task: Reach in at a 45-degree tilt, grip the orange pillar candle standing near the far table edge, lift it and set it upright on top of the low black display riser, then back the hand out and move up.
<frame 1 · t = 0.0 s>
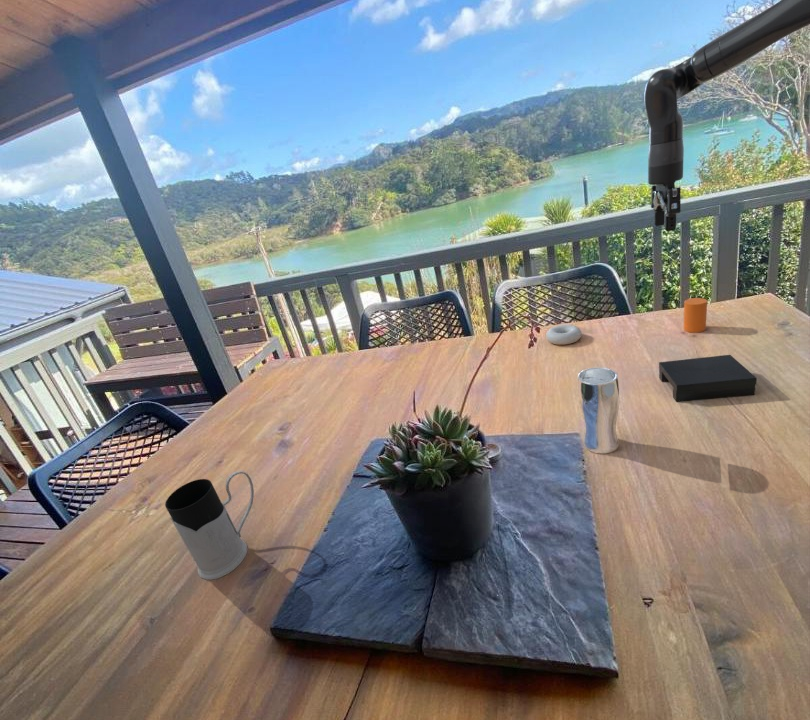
hand: (664, 227, 114), 27 cm above the table, tool pointing down, fingers open, 8 cm apart
donut: (564, 340, 130), on the table
black display riser: (703, 386, 93), on the table
silver metal tumbler: (601, 445, 84), on the table
candle: (694, 329, 117), on the table
glass holder: (237, 549, 80), on the table
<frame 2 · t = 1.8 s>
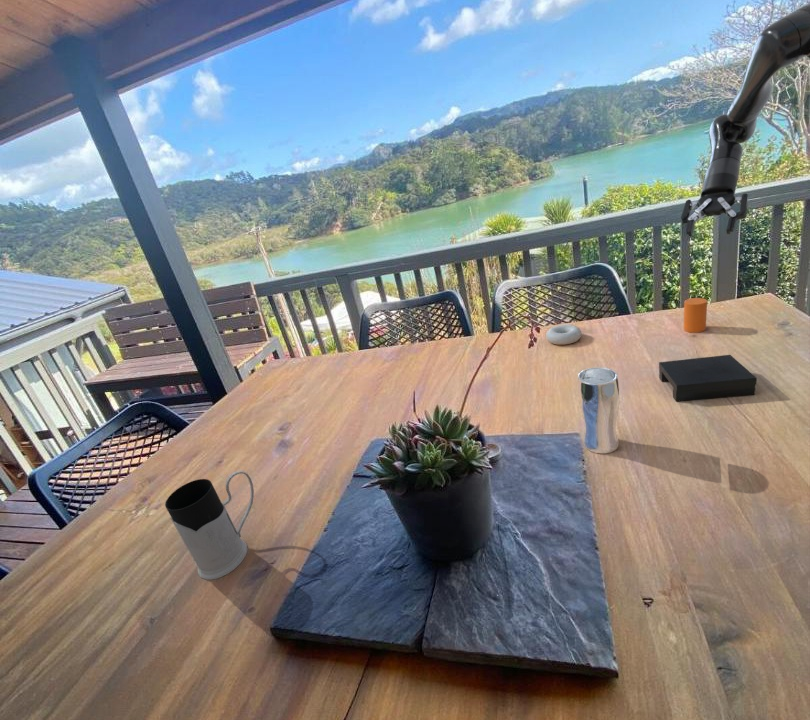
hand: (708, 233, 115), 23 cm above the table, tool tilted 45°, fingers open, 8 cm apart
nothing on the table moved.
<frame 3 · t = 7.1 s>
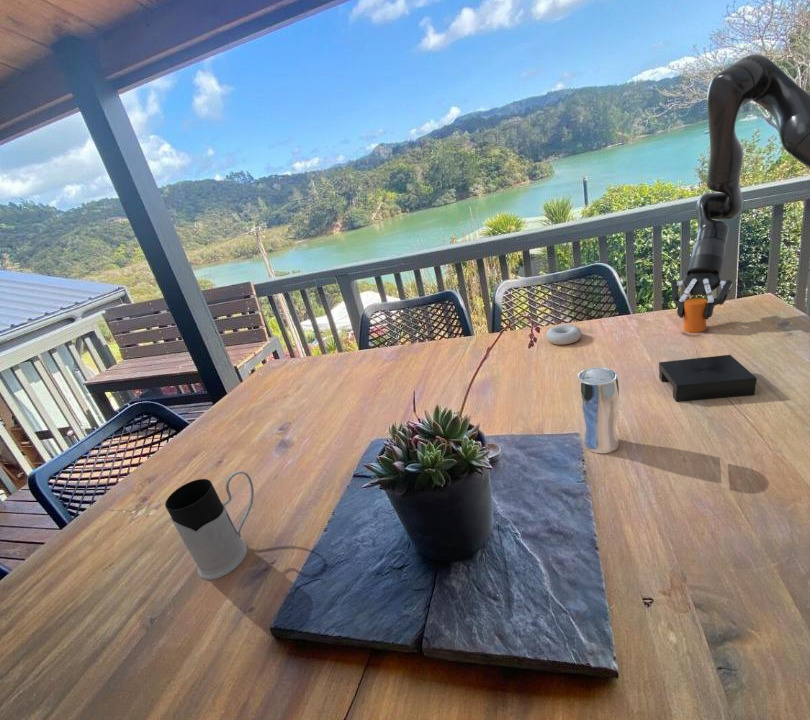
hand: (693, 317, 115), 4 cm above the table, tool tilted 45°, fingers closed on candle, 5 cm apart
candle: (694, 329, 117), on the table, touching gripper
everything else where it was.
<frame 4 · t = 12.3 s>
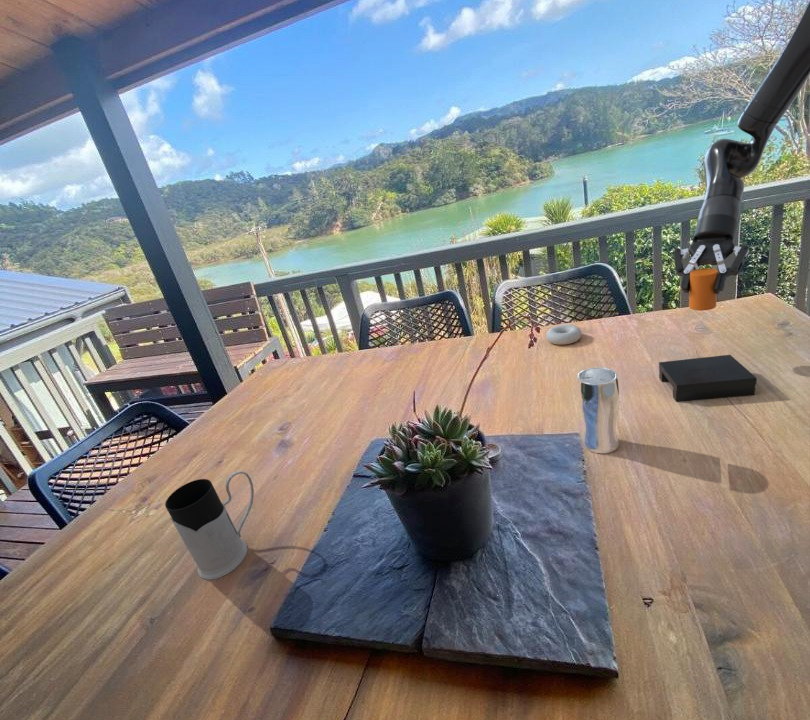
hand: (701, 291, 94), 18 cm above the table, tool tilted 45°, fingers closed on candle, 5 cm apart
candle: (702, 306, 97), point 14 cm above the table, touching gripper
everything else where it was.
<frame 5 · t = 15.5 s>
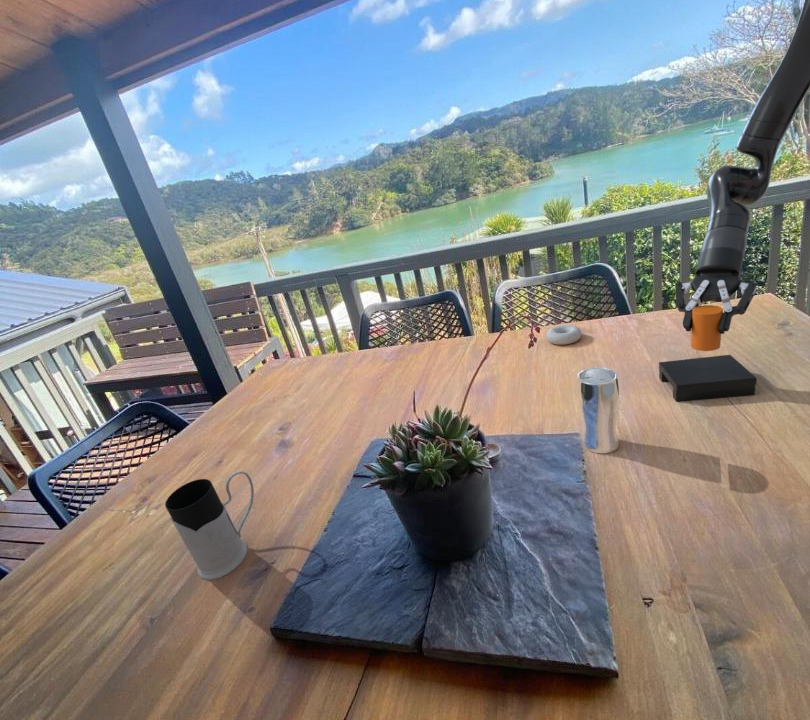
hand: (704, 330, 87), 14 cm above the table, tool tilted 45°, fingers closed on candle, 5 cm apart
candle: (705, 345, 90), point 9 cm above the table, touching gripper
everything else where it was.
when the fingers open (8 cm above the table, at t = 17.8 s): candle stays where it is, resting on black display riser.
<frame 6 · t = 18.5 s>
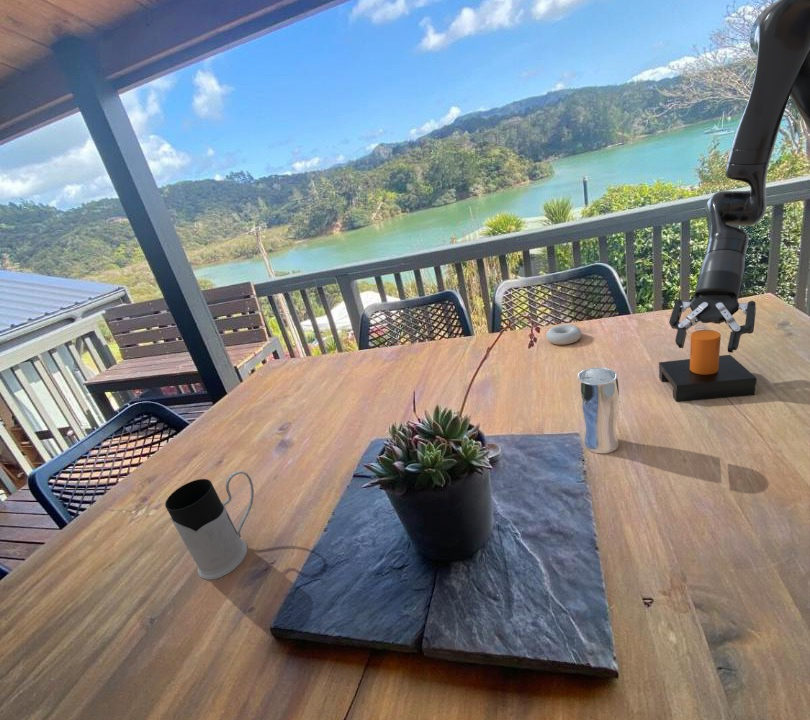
hand: (704, 349, 89), 9 cm above the table, tool tilted 45°, fingers open, 8 cm apart
candle: (703, 369, 92), point 4 cm above the table, touching black display riser
everything else where it was.
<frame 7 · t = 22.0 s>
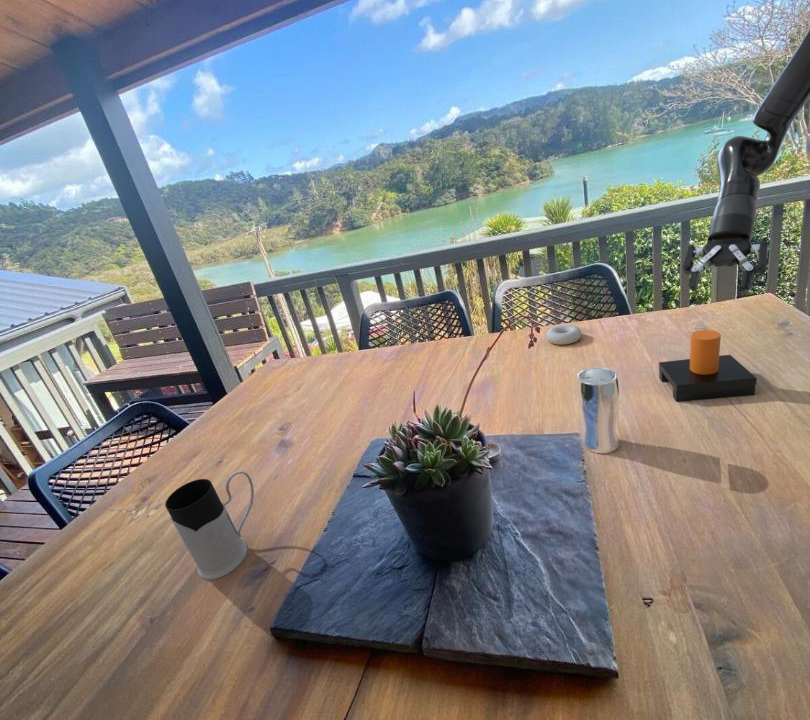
hand: (717, 290, 91), 19 cm above the table, tool tilted 45°, fingers open, 8 cm apart
nothing on the table moved.
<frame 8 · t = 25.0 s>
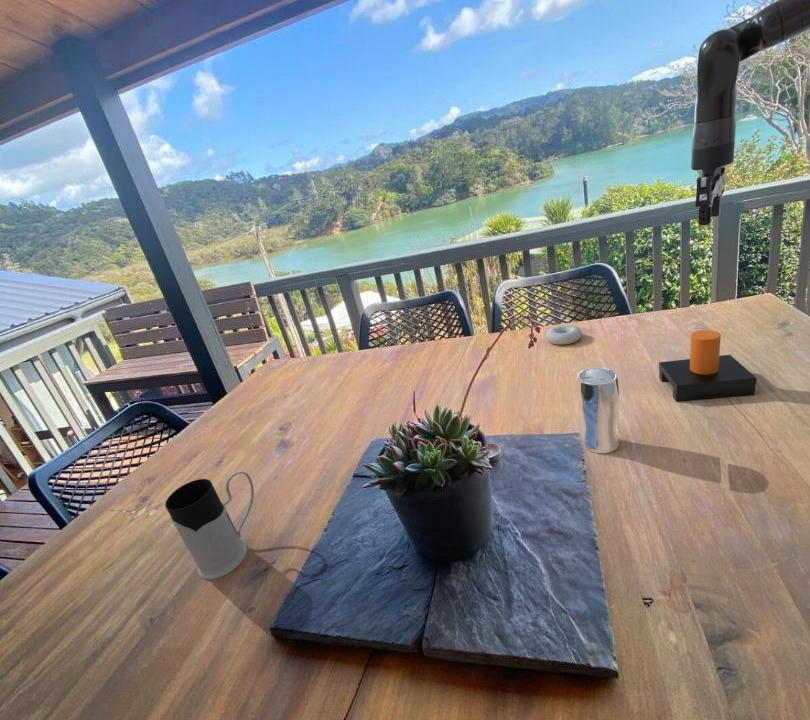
hand: (708, 220, 99), 30 cm above the table, tool pointing down, fingers open, 8 cm apart
nothing on the table moved.
at the end: candle inside the target area on the black display riser (0.1 cm from its centre), point 4.0 cm above the black display riser's base; candle tilted 0°; the gripper is holding nothing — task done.
